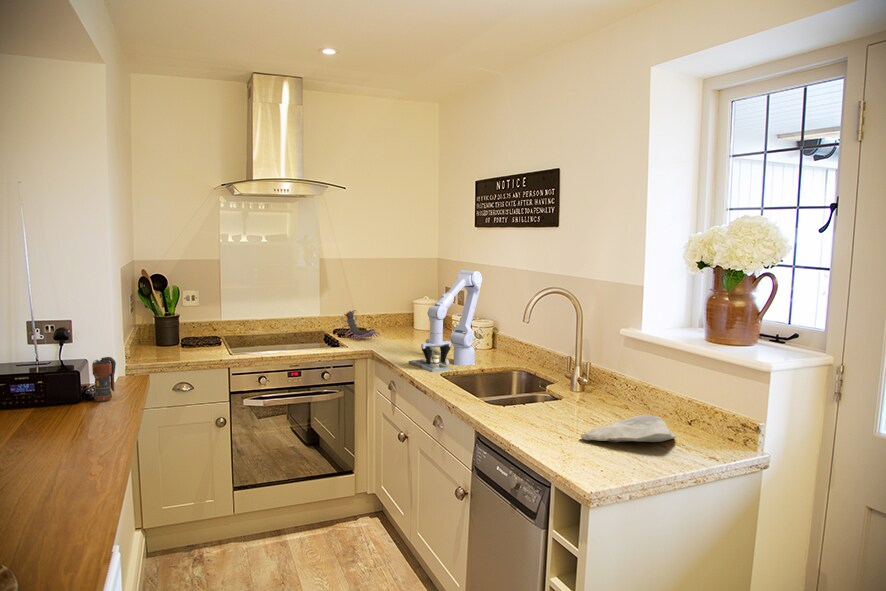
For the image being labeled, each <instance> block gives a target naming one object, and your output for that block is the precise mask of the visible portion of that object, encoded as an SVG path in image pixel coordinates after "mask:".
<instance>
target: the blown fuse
mask: <svg viewBox="0 0 886 591" xmlns="http://www.w3.org/2000/svg"><path fill="white" fill-rule="evenodd" d="M439 358H440V355H431V362H432V367H431V368H432V369H437V368H440V367H439V364H440V361H439Z"/></svg>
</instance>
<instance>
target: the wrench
mask: <svg viewBox="0 0 886 591" xmlns="http://www.w3.org/2000/svg"><path fill="white" fill-rule="evenodd" d="M428 342H430V338H426V339H425V343H428ZM430 349H431V350H432V353H431V356H432V355H440V358H439V363H440V362H441V351H439V350H438V349H437V347H432V348H430ZM441 363H442V362H441ZM443 365H445V366H449V365H450V360H449V359H448V358H447V357H446V360H445V363H443Z"/></svg>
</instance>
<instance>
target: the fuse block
mask: <svg viewBox="0 0 886 591" xmlns="http://www.w3.org/2000/svg"><path fill="white" fill-rule="evenodd" d="M408 364H409V365H412V366H415V367H416V368H419V369H423V368H422V365H428V364H427V363H426V358H424V359H423V358H422V359H421V358H420V359H413V360H408ZM431 364H432V361H431Z"/></svg>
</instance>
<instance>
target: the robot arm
mask: <svg viewBox="0 0 886 591" xmlns="http://www.w3.org/2000/svg"><path fill="white" fill-rule="evenodd" d="M482 283H483V276H482V274H481V272H480V271H477V270H465V269H462V270H460V271H459V273H457V275H456V280H455V281H454V283H453V284H452V285H451V287H450V289H449V290H448V291H447V292H444V293H442V294H441V296H440V297H439V298H438V300H437V301H436V302H435V303H434V304H433V305H431V306H430V307H429V308H428V310H427V313H426V314H427V316H428V318H429V319H428V321H429V339H430V342H428V343H426V342H424V343H420V349H421V351H422V352H423V355H424V359H425V360H426V363H427V364H431V362H432V355H431V353H432V350H431V349H430V348H432V347H435V348H439V350H440V351H439V352H440V353H441V363H443V364H444V363H445V360H446V358H447V356H448V353H449V352H450V350H451V346H452V347H453V359H452V360H453V365H455V366H461V367H465V366H473V365H475V366H476V364H475V361H476V360H475V357H476V353H475V352H476V351H475V349H474V347H473V346H472V345H473V343H474V334H475V332H474V331H473V329H472V328H471V326H472V323H473V320H474V315H475V312H476V307H477V305H478V304H477V303H478V300H479V296H480V293H481V286H482ZM463 288H464V289H465V290H466V292H467V293H466V297H465V300H464V301H465V302H464V305H463V308H462V312H461V316H460V320H459V323H458V325H456V326H455V327H454V328H453V331H452V332H451V333H450V341H449V340H445V341H444V340H443V339H444V319H445V318H446V317H447V312H448V309H449V308H450V307H451V306H452V305H453V303H454V302H455V297H456V296H457V295H458V293H460V291H461V290H462V289H463Z"/></svg>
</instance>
